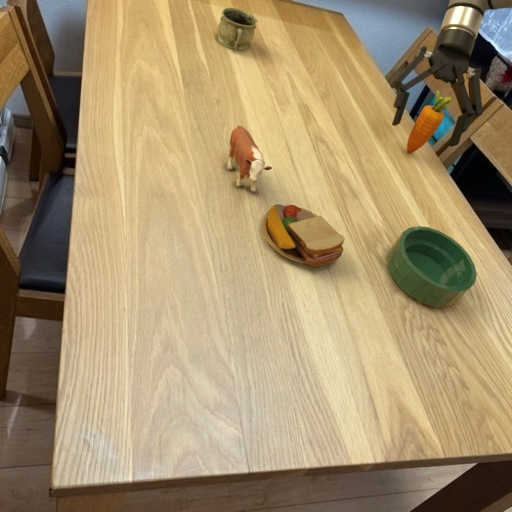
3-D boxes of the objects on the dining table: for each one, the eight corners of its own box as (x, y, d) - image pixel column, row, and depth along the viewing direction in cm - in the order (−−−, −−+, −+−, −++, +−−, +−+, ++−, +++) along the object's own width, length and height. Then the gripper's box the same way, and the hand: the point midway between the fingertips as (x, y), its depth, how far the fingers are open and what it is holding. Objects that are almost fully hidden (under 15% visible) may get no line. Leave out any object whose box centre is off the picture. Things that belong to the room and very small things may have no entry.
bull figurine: (238, 206, 81) (252, 168, 75) (220, 153, 89) (231, 116, 83) (262, 207, 83) (277, 170, 77) (243, 155, 91) (255, 118, 85)
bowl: (453, 259, 89) (469, 241, 85) (463, 319, 79) (483, 301, 76) (384, 236, 87) (397, 216, 84) (386, 294, 78) (402, 275, 74)
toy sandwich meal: (311, 207, 86) (321, 187, 83) (348, 267, 79) (361, 247, 76) (248, 213, 81) (256, 192, 77) (281, 277, 74) (292, 257, 70)
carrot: (396, 143, 110) (432, 84, 99) (416, 149, 111) (454, 91, 100) (399, 157, 107) (437, 97, 96) (420, 162, 108) (460, 104, 97)
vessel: (252, 58, 117) (260, 32, 112) (216, 49, 114) (223, 23, 110) (248, 34, 124) (255, 9, 120) (214, 26, 122) (220, 0, 117)
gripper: (499, 63, 107) (468, 156, 107) (396, 23, 105) (364, 119, 105) (521, 50, 100) (487, 151, 100) (410, 7, 97) (376, 110, 97)
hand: (424, 134), depth 102 cm, fingers open, 12 cm apart
